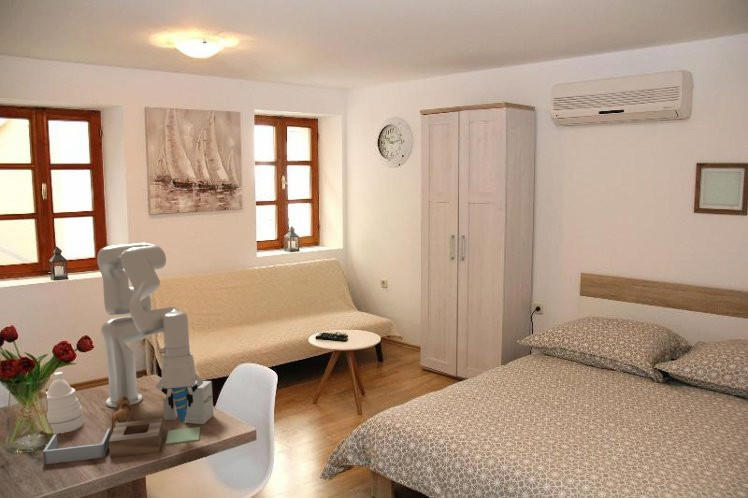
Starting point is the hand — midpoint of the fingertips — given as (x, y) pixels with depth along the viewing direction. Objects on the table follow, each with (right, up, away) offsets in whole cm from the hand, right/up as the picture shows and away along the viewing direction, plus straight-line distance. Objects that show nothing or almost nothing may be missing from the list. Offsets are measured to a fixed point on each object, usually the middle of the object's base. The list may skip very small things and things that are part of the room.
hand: (181, 405), depth 200 cm
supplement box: (+2, -8, +14) cm, 17 cm away
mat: (0, -10, +1) cm, 10 cm away
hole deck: (-12, -11, -4) cm, 17 cm away
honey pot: (-44, -10, +12) cm, 46 cm away
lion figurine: (-23, -10, +10) cm, 27 cm away
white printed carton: (-8, -8, +18) cm, 21 cm away
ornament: (0, -6, +1) cm, 6 cm away
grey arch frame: (-29, -12, -8) cm, 32 cm away
